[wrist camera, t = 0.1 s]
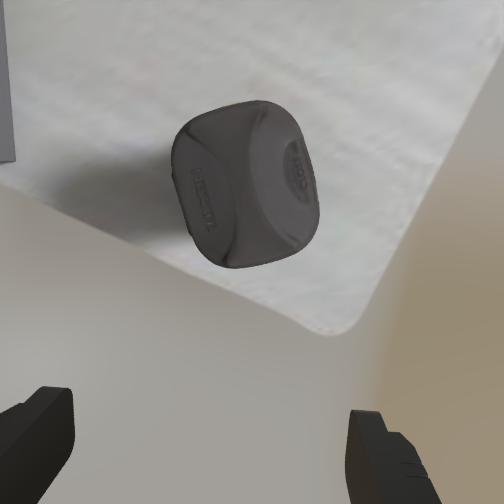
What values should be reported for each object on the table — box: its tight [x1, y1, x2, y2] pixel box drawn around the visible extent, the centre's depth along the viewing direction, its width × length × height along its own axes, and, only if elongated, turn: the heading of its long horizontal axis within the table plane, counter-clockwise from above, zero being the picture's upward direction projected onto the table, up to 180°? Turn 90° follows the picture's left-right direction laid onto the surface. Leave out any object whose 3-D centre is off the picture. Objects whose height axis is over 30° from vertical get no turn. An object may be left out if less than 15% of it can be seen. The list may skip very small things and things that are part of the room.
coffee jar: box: [171, 100, 320, 269], centre depth 30 cm, size 10×8×19 cm
